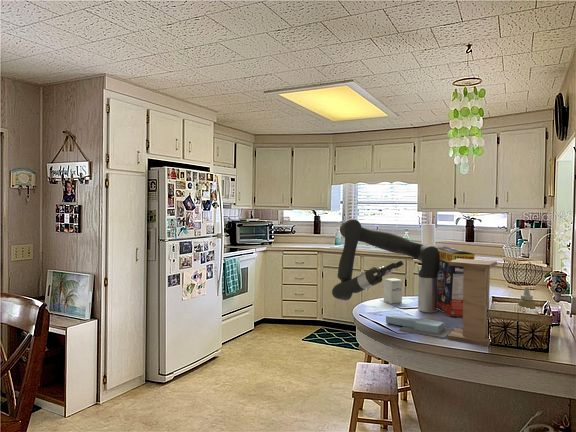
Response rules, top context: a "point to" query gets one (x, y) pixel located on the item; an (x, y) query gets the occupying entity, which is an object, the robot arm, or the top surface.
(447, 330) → the mat
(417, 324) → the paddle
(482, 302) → the wooden pedestal stand
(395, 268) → the robot arm
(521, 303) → the squeeze bottle
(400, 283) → the supplement box
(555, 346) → the top surface
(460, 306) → the cereal box
